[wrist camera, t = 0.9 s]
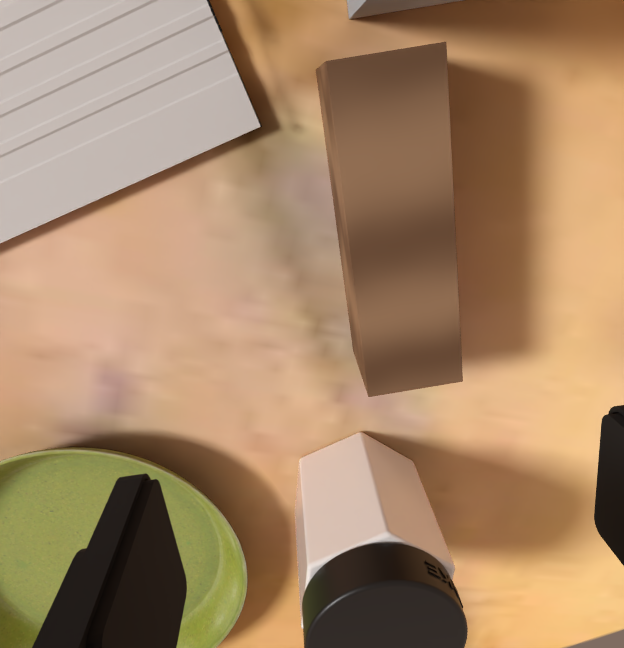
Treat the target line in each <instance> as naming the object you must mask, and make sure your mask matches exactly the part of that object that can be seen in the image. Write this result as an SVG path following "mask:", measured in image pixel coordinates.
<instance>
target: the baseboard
mask: <svg viewBox="0 0 624 648" xmlns="http://www.w3.org/2000/svg"><path fill="white" fill-rule="evenodd" d="M259 127H262V126H261V123H260V121H259V118H258V116H257V114H256V111H255V109H254V107H253V104H252V102H251V100H250V97H249V95H248V93H247V90H246V88H245V85H244V83H243V81H242V78H241V76H240V74H239V71H238V69H237V67H236V64H235V62H234V59H233V57H232V55H231V52H230V50H229V48H228V45H227V43H226V41H225V38H224V36H223V34H222V30H221V27H220V25H219V23H218V20H217V18H216V16H215V13H214V11H213V9H212V6H211V4H210V1H209V0H0V243H2V242H4V241H7V240H9V239H11V238H13V237H16V236H18V235H20V234H22V233H25V232H27V231H29V230H31V229H33V228H36V227H38V226H40V225H42V224H45V223H47V222H49V221H51V220H54V219H56V218H58V217H60V216H62V215H65V214H67V213H69V212H71V211H74V210H76V209H78V208H80V207H83V206H85V205H87V204H89V203H91V202H94V201H96V200H98V199H100V198H103V197H105V196H107V195H109V194H112V193H114V192H116V191H118V190H120V189H123V188H125V187H127V186H129V185H132V184H134V183H136V182H138V181H141V180H143V179H145V178H147V177H149V176H152V175H154V174H156V173H158V172H161V171H163V170H165V169H167V168H170V167H172V166H174V165H176V164H178V163H181V162H183V161H185V160H187V159H190V158H192V157H194V156H196V155H199V154H201V153H203V152H205V151H207V150H210V149H212V148H214V147H216V146H219V145H221V144H223V143H225V142H228V141H230V140H232V139H234V138H236V137H239V136H241V135H243V134H245V133H248V132H250V131H252V130H254V129H257V128H259Z"/></svg>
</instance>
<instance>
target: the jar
mask: <svg viewBox="0 0 624 648" xmlns="http://www.w3.org/2000/svg"><path fill="white" fill-rule="evenodd" d="M295 525H296V543H297V560H298V578H299V596H300V614H301V627H302V629H303V632H304V648H464V646H465V643H466V639H467V622H466V618H465V615H464V612H463V609H462V608H463V605H462V603H461V600H460V597H459V594H458V592H457V589H456V587H455V586H454V583H453V581H452V579H453V575H454V570H455V565H454V563H453V560H452V558H451V555H450V553H449V550H448V548H447V545H446V543H445V540H444V538H443V535H442V533H441V530H440V528H439V525H438V523H437V520H436V517H435V515H434V512H433V510H432V507H431V505H430V502H429V500H428V497H427V495H426V492H425V490H424V487H423V485H422V482H421V480H420V477H419V475H418V472H417V470H416V467H415V465H414V462H413V461H412V460H410V459H408V458H407V457H405V456H403V455H401V454H400V453H398V452H396V451H394V450H393V449H391V448H389V447H387V446H386V445H384V444H382V443H380V442H378V441H377V440H375V439H373V438H371V437H370V436H368V435H366V434H364V433H363V432H358V433H356V434H354V435H352V436H349V437H347V438H345V439H343V440H340V441H338V442H336V443H334V444H331V445H329V446H327V447H324V448H322V449H320V450H318V451H315V452H313V453H311V454H308V455H306V456H304V457H302V458H300V460H299V468H298V480H297V491H296V503H295Z"/></svg>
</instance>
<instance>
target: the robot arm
mask: <svg viewBox="0 0 624 648" xmlns="http://www.w3.org/2000/svg"><path fill="white" fill-rule="evenodd" d="M594 520H595V525H596V528H597V530H598V532H599V534H600V535H601V537H602V538H603V539H604V541H605V542H606V543H607V545H608V546H609V547H610V549H611V550H612V551H613V552H614V554H615V555H616V556H617V558H618V559H619V560H620V562H621V563H622V564H623V565H624V405H621V406H614V407H612V408H611V409H610V411H609V414H608V415H605V416H604V417H603V418H602V424H601V437H600V450H599V462H598V475H597V488H596V500H595V513H594ZM186 594H187V581H186V575H185V571H184V568H183V564H182V561H181V557H180V553H179V550H178V546H177V543H176V539H175V535H174V532H173V528H172V525H171V521H170V518H169V514H168V510H167V507H166V503H165V500H164V496H163V492H162V489H161V485H160V482H159V481H158V480H157V479H153V480H151V479H150V477H149V475H148V474H146V473H145V474H138V475H131V476H124V477H119V478H118V479H117V481H116V483H115V485H114V487H113V489H112V492H111V494H110V496H109V499H108V501H107V503H106V505H105V508H104V510H103V512H102V514H101V517H100V519H99V521H98V523H97V526H96V528H95V530H94V532H93V535H92V537H91V539H90V541H89V544H88V546H87V548H85V549H81V550H79V551H78V552H77V553H76V555H75V556H74V558H73V560H72V562H71V564H70V567H69V569H68V571H67V573H66V575H65V577H64V580H63V582H62V584H61V586H60V588H59V590H58V593H57V595H56V597H55V599H54V601H53V603H52V605H51V608H50V610H49V612H48V614H47V616H46V618H45V621H44V623H43V625H42V627H41V629H40V631H39V634H38V636H37V638H36V640H35V642H34V644H33V647H32V648H176V647H177V642H178V637H179V632H180V626H181V621H182V616H183V611H184V605H185V600H186Z"/></svg>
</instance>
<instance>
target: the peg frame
mask: <svg viewBox="0 0 624 648" xmlns="http://www.w3.org/2000/svg"><path fill="white" fill-rule="evenodd" d="M456 1H463V0H347V4H348V13H349V19H354V18H360V17H366V16H372V15H378V14H384V13H390V12H396V11H402V10H408V9H414V8H420V7H426V6H432V5H438V4H444V3H450V2H456Z"/></svg>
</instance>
